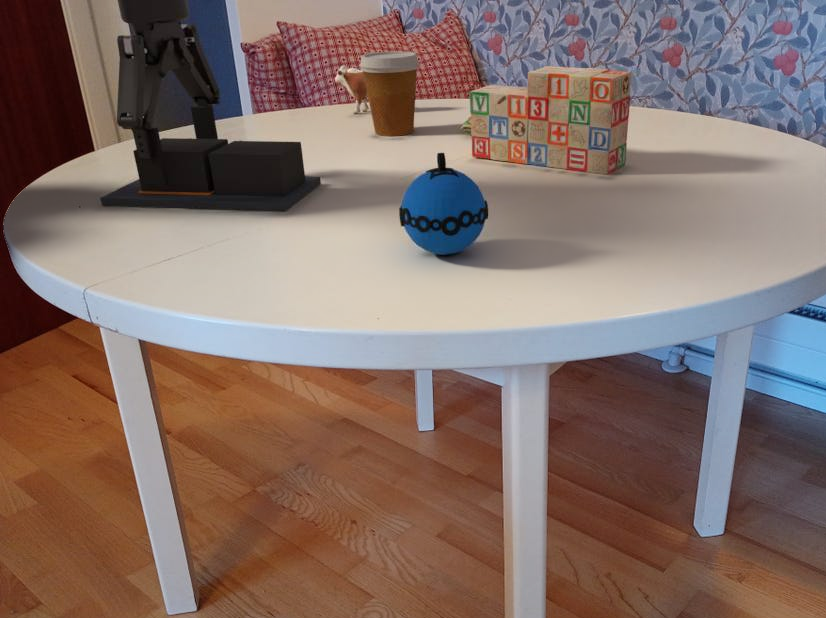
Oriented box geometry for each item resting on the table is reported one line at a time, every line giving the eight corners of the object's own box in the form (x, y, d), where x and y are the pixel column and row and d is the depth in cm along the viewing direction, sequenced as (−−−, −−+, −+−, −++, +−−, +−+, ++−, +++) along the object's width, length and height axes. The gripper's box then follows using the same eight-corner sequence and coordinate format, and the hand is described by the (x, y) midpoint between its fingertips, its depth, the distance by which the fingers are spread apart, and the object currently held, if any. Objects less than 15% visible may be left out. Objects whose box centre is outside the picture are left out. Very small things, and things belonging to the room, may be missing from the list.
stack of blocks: (470, 158, 118) (467, 67, 112) (492, 149, 122) (491, 62, 117) (608, 174, 107) (613, 76, 102) (627, 164, 112) (632, 69, 106)
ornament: (497, 263, 79) (495, 159, 75) (409, 271, 78) (401, 167, 73) (478, 235, 87) (475, 140, 82) (398, 243, 85) (390, 146, 81)
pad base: (101, 205, 101) (89, 156, 98) (153, 179, 111) (143, 135, 108) (285, 211, 97) (278, 160, 94) (321, 184, 107) (315, 137, 104)
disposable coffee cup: (354, 136, 133) (347, 58, 127) (382, 124, 140) (377, 50, 135) (407, 140, 129) (401, 59, 124) (433, 127, 137) (429, 51, 132)
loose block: (141, 191, 102) (132, 150, 99) (170, 176, 108) (162, 138, 106) (208, 193, 100) (201, 151, 98) (234, 178, 106) (227, 139, 104)
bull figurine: (339, 110, 154) (335, 64, 150) (410, 109, 152) (407, 63, 149) (333, 114, 150) (328, 67, 146) (406, 114, 149) (402, 66, 145)
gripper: (117, -10, 82) (161, 198, 92) (229, -22, 104) (254, 147, 113) (50, -9, 83) (100, 196, 93) (174, -21, 105) (204, 146, 115)
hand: (185, 170), depth 103 cm, fingers open, 13 cm apart
